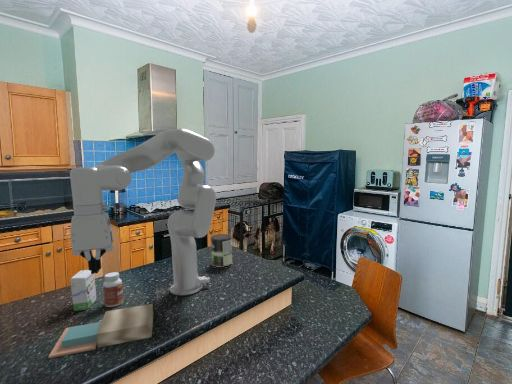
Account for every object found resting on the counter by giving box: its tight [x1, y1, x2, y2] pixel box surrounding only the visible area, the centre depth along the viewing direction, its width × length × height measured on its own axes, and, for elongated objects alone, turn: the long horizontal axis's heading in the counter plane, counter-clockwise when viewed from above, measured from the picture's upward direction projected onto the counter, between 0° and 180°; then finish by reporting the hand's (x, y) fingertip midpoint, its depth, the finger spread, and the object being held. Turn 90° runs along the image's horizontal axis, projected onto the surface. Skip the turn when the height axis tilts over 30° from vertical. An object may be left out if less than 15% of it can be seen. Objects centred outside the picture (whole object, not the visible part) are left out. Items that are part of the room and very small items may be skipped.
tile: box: [62, 321, 102, 348], centre depth 83 cm, size 9×7×2 cm
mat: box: [48, 322, 98, 359], centre depth 84 cm, size 11×14×1 cm
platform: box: [97, 303, 154, 348], centre depth 87 cm, size 14×13×4 cm
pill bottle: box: [102, 271, 124, 308], centre depth 104 cm, size 6×6×11 cm
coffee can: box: [210, 233, 233, 268], centre depth 142 cm, size 10×10×14 cm
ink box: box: [70, 269, 97, 312], centre depth 104 cm, size 8×5×12 cm, turn 10°
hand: (95, 271), depth 84 cm, fingers closed
